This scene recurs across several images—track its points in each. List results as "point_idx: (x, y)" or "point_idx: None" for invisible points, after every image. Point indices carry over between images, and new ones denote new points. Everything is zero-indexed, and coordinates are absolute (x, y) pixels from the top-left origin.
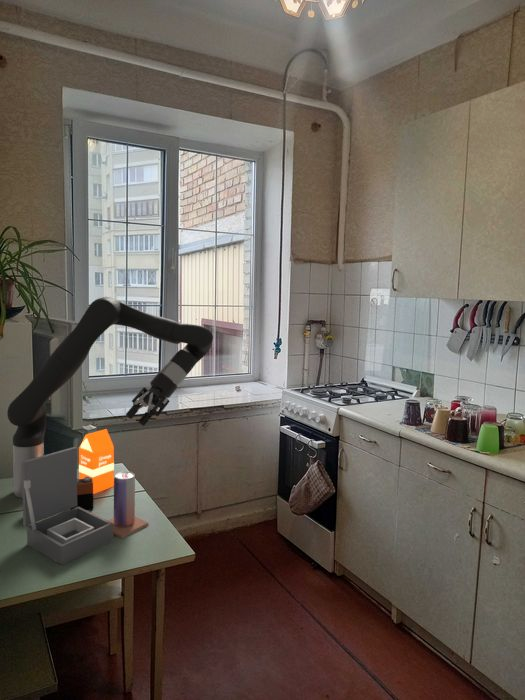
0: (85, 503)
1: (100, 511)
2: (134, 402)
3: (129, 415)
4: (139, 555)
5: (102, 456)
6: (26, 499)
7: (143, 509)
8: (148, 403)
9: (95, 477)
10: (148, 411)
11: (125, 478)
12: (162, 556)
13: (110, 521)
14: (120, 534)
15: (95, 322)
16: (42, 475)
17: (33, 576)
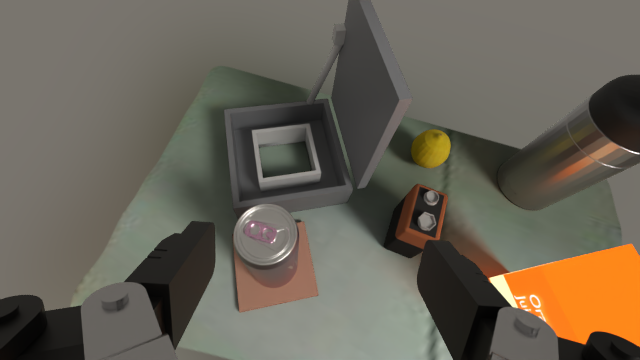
0: (391, 228)
1: (368, 257)
2: (533, 325)
3: (428, 265)
4: (152, 231)
5: (545, 310)
6: (338, 63)
7: (319, 348)
8: (160, 351)
9: None
10: (107, 286)
11: (243, 224)
12: (110, 264)
13: (301, 245)
14: None
15: None
16: (354, 56)
17: (231, 95)
